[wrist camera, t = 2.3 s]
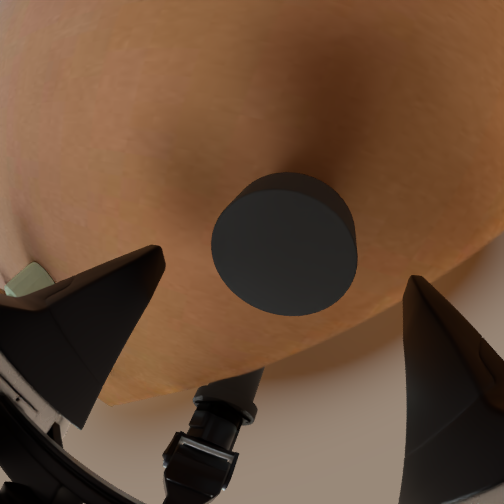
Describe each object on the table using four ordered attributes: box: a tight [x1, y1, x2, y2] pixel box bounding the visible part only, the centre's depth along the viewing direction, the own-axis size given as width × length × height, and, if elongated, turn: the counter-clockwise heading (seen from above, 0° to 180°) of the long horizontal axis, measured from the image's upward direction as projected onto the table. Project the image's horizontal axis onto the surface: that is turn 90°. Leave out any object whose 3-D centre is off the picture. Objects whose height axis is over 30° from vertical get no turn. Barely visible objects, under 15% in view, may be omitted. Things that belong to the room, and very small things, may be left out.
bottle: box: [5, 262, 55, 297], centre depth 25 cm, size 7×7×8 cm
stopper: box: [211, 172, 358, 316], centre depth 11 cm, size 5×5×5 cm
